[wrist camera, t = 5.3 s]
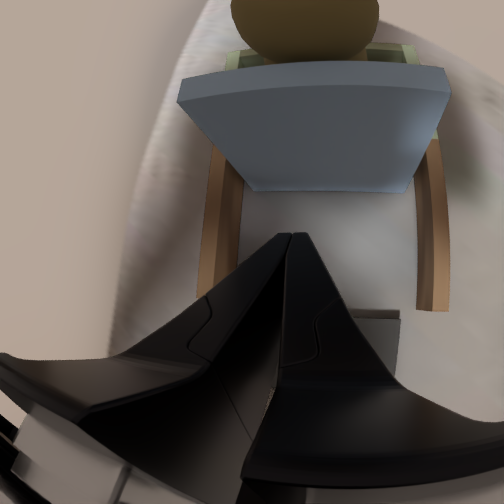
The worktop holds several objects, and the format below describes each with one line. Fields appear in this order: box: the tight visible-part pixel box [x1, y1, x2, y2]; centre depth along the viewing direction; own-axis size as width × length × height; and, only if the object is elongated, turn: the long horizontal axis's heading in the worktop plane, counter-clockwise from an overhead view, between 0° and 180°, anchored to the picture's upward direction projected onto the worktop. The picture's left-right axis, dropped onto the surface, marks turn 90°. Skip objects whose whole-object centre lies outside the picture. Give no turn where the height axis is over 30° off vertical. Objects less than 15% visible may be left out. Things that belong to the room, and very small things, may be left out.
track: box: [196, 43, 450, 312], centre depth 15 cm, size 15×11×3 cm
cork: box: [231, 0, 379, 65], centre depth 12 cm, size 6×6×11 cm
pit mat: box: [271, 318, 401, 388], centre depth 15 cm, size 4×8×1 cm, turn 86°
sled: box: [177, 61, 452, 193], centre depth 12 cm, size 7×8×9 cm
